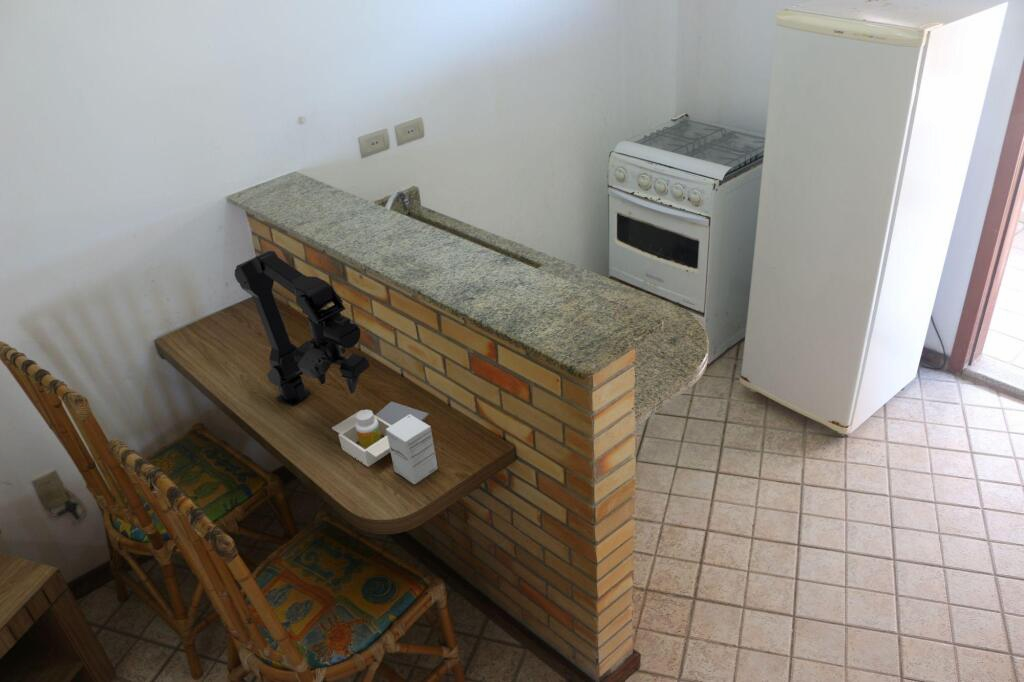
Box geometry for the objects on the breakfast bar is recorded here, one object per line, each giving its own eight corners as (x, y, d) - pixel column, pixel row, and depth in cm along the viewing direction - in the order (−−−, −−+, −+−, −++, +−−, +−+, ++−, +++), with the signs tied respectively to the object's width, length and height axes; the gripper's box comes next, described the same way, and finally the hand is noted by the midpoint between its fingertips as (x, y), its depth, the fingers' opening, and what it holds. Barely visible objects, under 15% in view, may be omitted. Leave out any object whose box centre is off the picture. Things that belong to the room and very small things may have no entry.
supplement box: (393, 472, 192) (384, 428, 185) (418, 455, 196) (410, 412, 189) (414, 486, 187) (404, 441, 180) (439, 469, 191) (431, 425, 184)
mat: (371, 420, 209) (371, 418, 209) (391, 403, 215) (391, 401, 214) (409, 433, 203) (408, 431, 203) (428, 415, 209) (428, 413, 208)
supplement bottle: (379, 454, 197) (372, 422, 192) (357, 454, 198) (349, 421, 193) (386, 440, 202) (378, 407, 197) (364, 439, 203) (357, 407, 198)
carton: (333, 443, 203) (329, 429, 200) (367, 423, 208) (363, 408, 206) (377, 473, 192) (373, 458, 189) (411, 450, 198) (408, 435, 195)
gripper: (270, 342, 192) (285, 397, 200) (333, 360, 183) (346, 417, 192) (303, 318, 200) (316, 372, 208) (364, 335, 191) (376, 390, 199)
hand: (337, 388), depth 202 cm, fingers open, 9 cm apart
